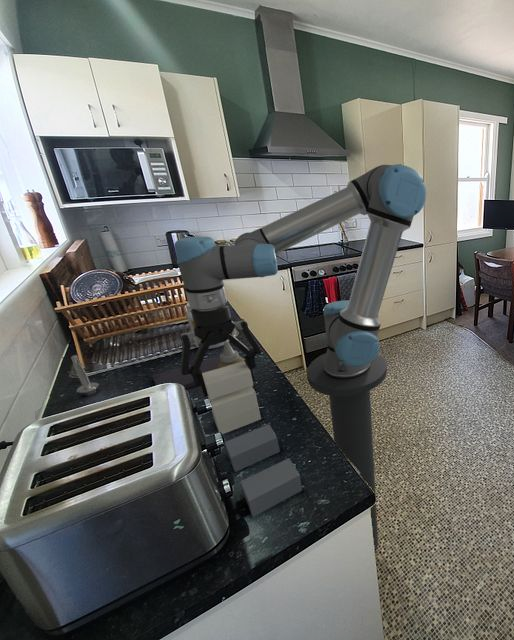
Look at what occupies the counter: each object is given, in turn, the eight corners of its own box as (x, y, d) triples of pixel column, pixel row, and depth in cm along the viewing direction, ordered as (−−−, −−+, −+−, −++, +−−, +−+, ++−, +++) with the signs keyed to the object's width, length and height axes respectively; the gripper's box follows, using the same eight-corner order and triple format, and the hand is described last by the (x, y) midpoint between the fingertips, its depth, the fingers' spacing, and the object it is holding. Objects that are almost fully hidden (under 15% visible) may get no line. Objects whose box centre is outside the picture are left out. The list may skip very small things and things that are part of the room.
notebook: (160, 397, 102) (237, 371, 115) (158, 393, 101) (236, 367, 115) (153, 379, 110) (226, 357, 124) (151, 375, 110) (225, 353, 123)
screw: (76, 399, 100) (84, 390, 104) (97, 396, 102) (104, 387, 106) (57, 361, 95) (66, 352, 99) (79, 358, 96) (88, 350, 100)
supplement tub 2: (238, 340, 135) (228, 300, 128) (206, 353, 126) (194, 310, 119) (220, 333, 141) (210, 293, 134) (188, 344, 131) (176, 303, 125)
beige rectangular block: (254, 408, 98) (251, 395, 97) (261, 419, 94) (258, 405, 92) (215, 422, 92) (211, 409, 91) (220, 435, 88) (216, 421, 86)
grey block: (272, 437, 88) (269, 423, 86) (280, 451, 84) (277, 437, 82) (228, 456, 82) (224, 442, 80) (234, 472, 78) (230, 457, 76)
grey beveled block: (292, 472, 78) (289, 457, 76) (302, 490, 74) (299, 475, 72) (244, 496, 72) (240, 481, 70) (252, 517, 68) (248, 501, 66)
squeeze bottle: (219, 405, 99) (204, 350, 92) (228, 389, 106) (215, 337, 99) (250, 402, 101) (237, 348, 93) (256, 386, 108) (245, 335, 101)
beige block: (251, 395, 97) (248, 381, 95) (258, 405, 92) (255, 392, 91) (211, 409, 91) (207, 395, 89) (216, 421, 86) (212, 407, 85)
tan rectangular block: (247, 375, 94) (244, 361, 92) (253, 385, 90) (250, 370, 88) (205, 388, 88) (200, 373, 86) (209, 399, 84) (205, 384, 82)
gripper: (150, 323, 70) (178, 411, 79) (265, 300, 84) (279, 377, 93) (147, 311, 76) (174, 395, 85) (256, 292, 89) (270, 366, 98)
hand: (229, 386), depth 89 cm, fingers closed on tan rectangular block, 10 cm apart
